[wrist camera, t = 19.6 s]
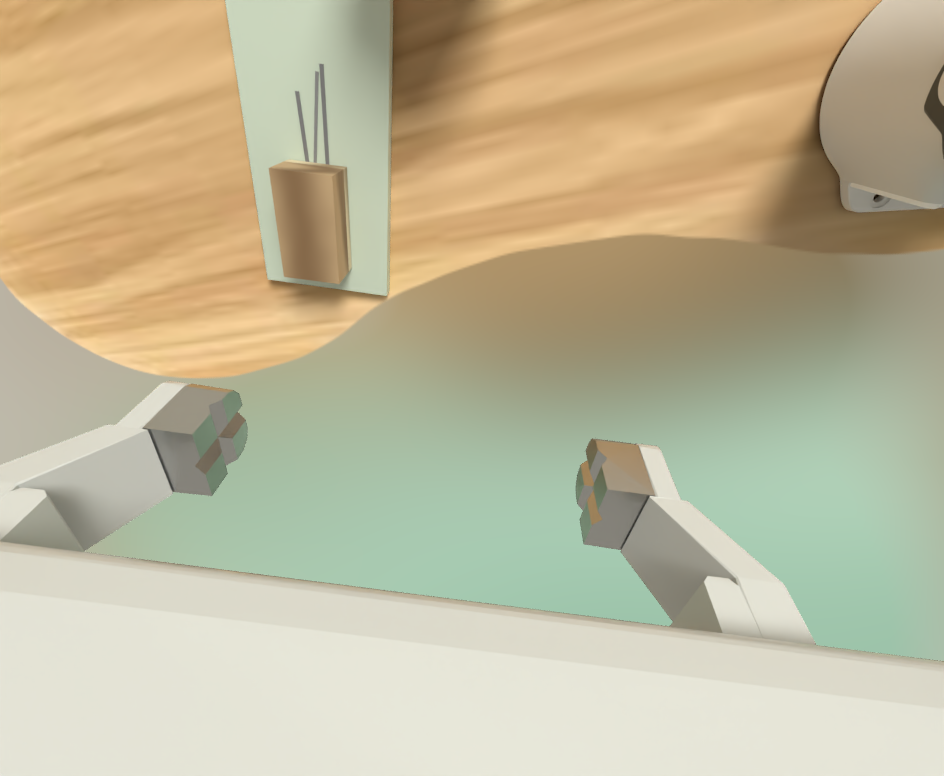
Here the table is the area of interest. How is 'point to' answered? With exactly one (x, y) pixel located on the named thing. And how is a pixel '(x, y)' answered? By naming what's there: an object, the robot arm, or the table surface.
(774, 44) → the table surface
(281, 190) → the block
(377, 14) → the board
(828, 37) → the table surface
